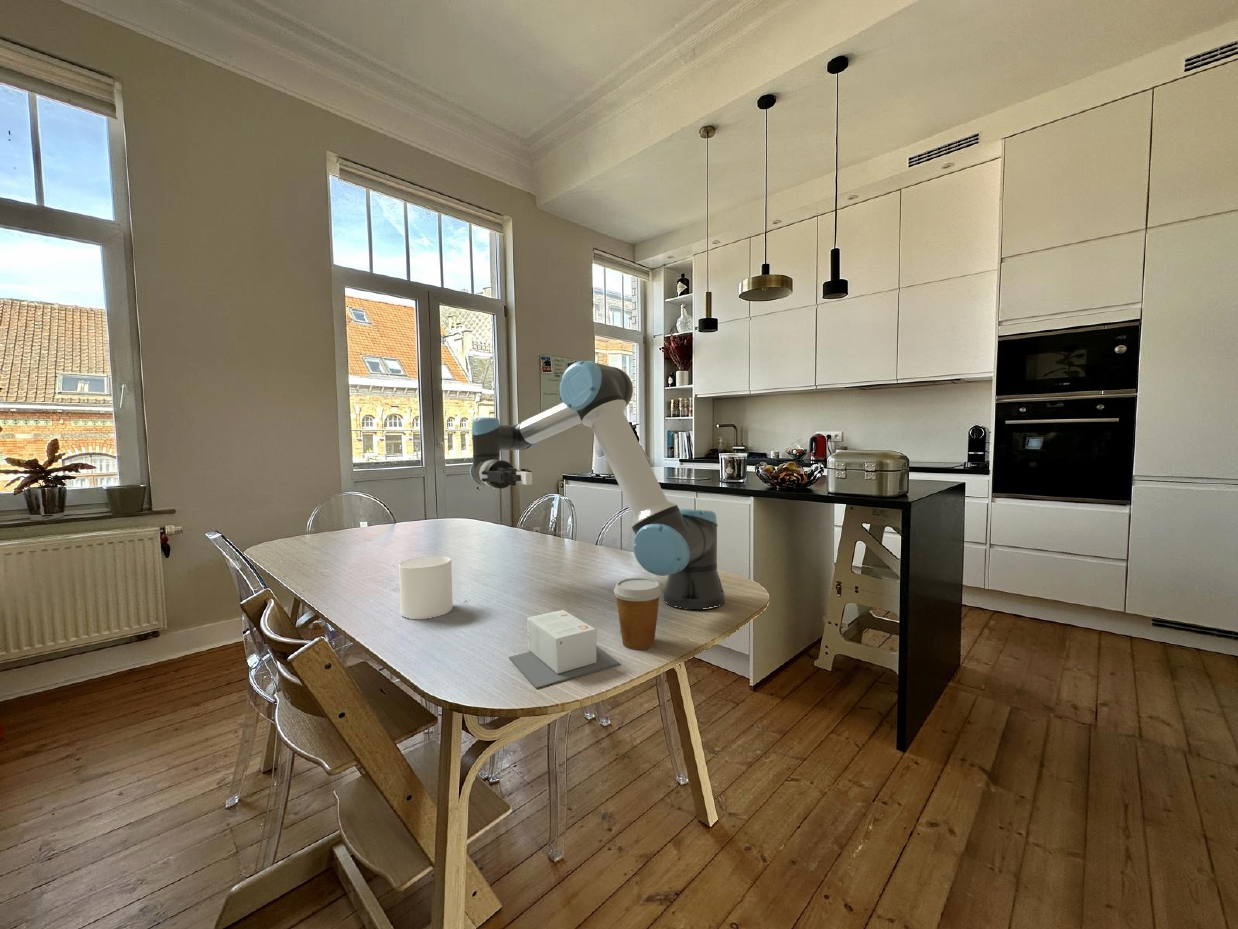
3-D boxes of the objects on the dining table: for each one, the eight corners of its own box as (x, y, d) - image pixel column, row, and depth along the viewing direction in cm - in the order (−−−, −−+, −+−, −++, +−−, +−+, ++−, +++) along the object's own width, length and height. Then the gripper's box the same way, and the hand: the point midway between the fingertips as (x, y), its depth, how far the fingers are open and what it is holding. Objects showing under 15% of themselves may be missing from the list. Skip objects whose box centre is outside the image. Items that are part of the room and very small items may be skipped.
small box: (527, 649, 94) (556, 675, 83) (526, 617, 94) (556, 638, 83) (564, 640, 99) (597, 663, 88) (564, 609, 99) (597, 628, 88)
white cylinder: (431, 600, 126) (429, 554, 126) (463, 607, 120) (461, 559, 120) (390, 614, 116) (388, 564, 115) (422, 623, 110) (420, 570, 110)
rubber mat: (585, 639, 99) (585, 638, 99) (619, 664, 88) (619, 662, 88) (509, 658, 91) (508, 656, 91) (536, 689, 80) (536, 687, 80)
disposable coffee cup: (666, 652, 93) (665, 589, 92) (616, 654, 92) (615, 591, 92) (658, 632, 102) (657, 576, 102) (612, 635, 102) (611, 578, 101)
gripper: (520, 486, 136) (555, 493, 116) (473, 489, 129) (501, 496, 109) (520, 459, 135) (554, 461, 115) (472, 460, 129) (500, 463, 108)
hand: (529, 478), depth 112 cm, fingers closed
